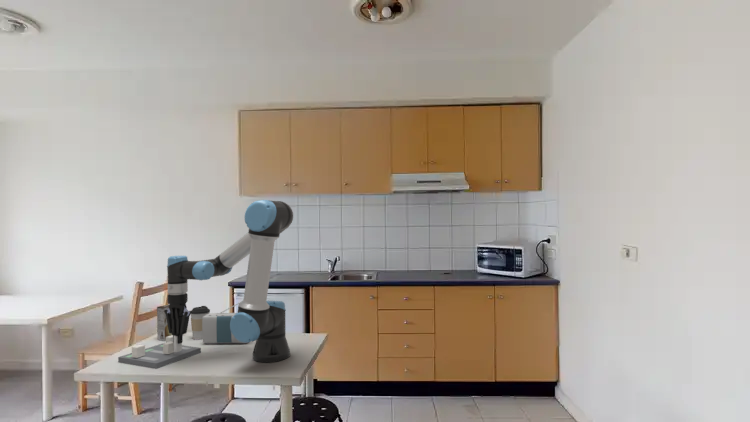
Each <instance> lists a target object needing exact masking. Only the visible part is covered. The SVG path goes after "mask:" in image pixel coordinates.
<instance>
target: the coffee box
mask: <svg viewBox="0 0 750 422" xmlns="http://www.w3.org/2000/svg"><path fill="white" fill-rule="evenodd" d="M168 308H169V304H166V305H165V304H163V305H159V306H157V307H156V318H157V319H156V324H157V326H156V329H157V331H156V333H157V335H156V337H157V339H156V340H159V341H161V342H166V337H168V336H171V335H172V334H171V333H169V330H168V325H167V319H166V315H165V312H164V310H167V309H168Z"/></svg>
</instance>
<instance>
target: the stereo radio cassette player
mask: <svg viewBox="0 0 750 422" xmlns="http://www.w3.org/2000/svg"><path fill="white" fill-rule="evenodd" d="M239 303H240V302H238V303H236V304H234V305H232V306H230V307H228V308H227V309H225V310H223V311H220V312H210V313H209V314H207V315H205V316H203V318H202V338H203V339H202V343H204V344H206V345H209V344H211V345H212V344H214V345H216V344H217V345H218V344H220V345H221V344H223V345H224V344H245V345H246V343H244V342H240V341H238V340H237V339H236V338H235V337H234V335H233V334H232V332H231V330H230V321H231V319H232V317H233V316H234V315H235V314H236V313H237V312H226V311H229V310H230V309H232V308H234V307H236V306H237V305H238V306H239Z"/></svg>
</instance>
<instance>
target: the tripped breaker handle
mask: <svg viewBox="0 0 750 422" xmlns="http://www.w3.org/2000/svg"><path fill="white" fill-rule="evenodd" d="M163 343H164V344H163ZM163 343H162V344H163V354H171V353H174V343H173V342H171V341H170V342H167V343H166V342H163Z"/></svg>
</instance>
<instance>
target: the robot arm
mask: <svg viewBox="0 0 750 422" xmlns="http://www.w3.org/2000/svg"><path fill="white" fill-rule="evenodd" d="M293 221H294V212H293V209H292V207H291V206H290V205H289V204H288V203H286V202H284V201H282V200H280V201H279V200H270V199H261V200H260V199H259V200H255V201H253V202H251V204H249V205H248V206H247V208H246V210H245V212H244V222H245V224H246V227H247V228H248V232H247V233H246V234H244V235H243V236H242V237H240V238H239V239H238V240H237V241H235V242H234V243H233V244H231V245H230V246H229V247H227V248H226V249H224V251H222V252H221V253H220V254H219V255H218V256H216V257H215V258H211V259H204V260H203V259H202V260H188V256H187V255H172V256H169V257H168V259H167V265H166V267H167V268H166V271H167V305H169V308H168V309H167V310H164V312H165V315H166V319H167V325H168V330H169V333H171V334H172V335H173V343H174V352H178V351H181V350H182V345H183V341H184V340H183V336H184V335H185V334H187V333H188V326H189V321H190V317H191V310H188V309H187V303H188V299H189V298H188V296H189V295H188V285H189V284H188V283H189V282H188V281H189V280H195V281H196V280H197V281H206V280H207V281H208V280H210V279H211V278H212V277H219V276H220V277H221V276H224V275H227V274H230V273H231V271H232V269H233V267H234V266H235V265H237V264H238V263H239V262H241V261H243V260H244V259H245V258H246V257H248V264H247V271H246V279H245V287H244V293H243V300H241V301H240V302H238V303H239V304H238V308H237V312H235V313H236V314H235V315H234V316H233V317H232V319H231V321H230V330H231V332H232V334H233V335H234V337H235V338H236V339H237V340H238V341H240V342H244V343H245V344H247V343H248V344H249V343H251V342H255V343H254V347H253V351H252V360H253V361H255V362H258V363H274V362H280V361H283V360H286V359H288V358H290V356H291V350H290V347H289V343H288V340H287V336H286V335H287V334H286V305H285V302H284V301H282V300H267V299H268V292H269V285H270V277H271V269H272V263H273V256H274V248H275V242H276V240H277V239H279V238H280V234H281V233H283V232H284V231H286V230H287V229H288V228H289V227H290V226H291V225H292V223H293ZM244 343H243V344H244Z"/></svg>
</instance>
